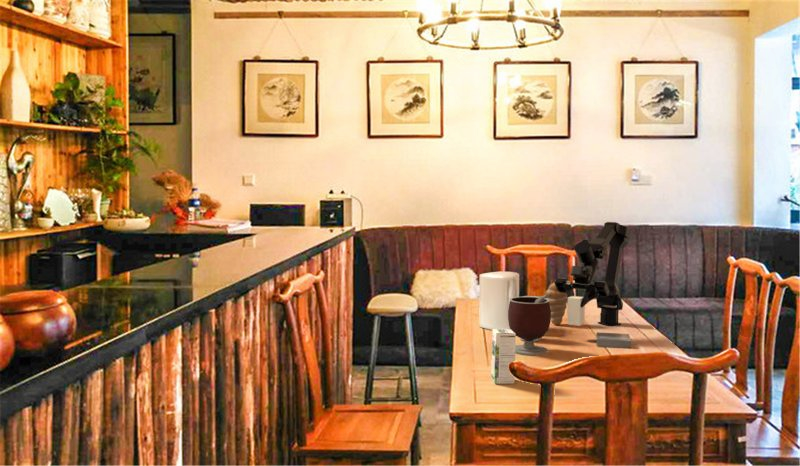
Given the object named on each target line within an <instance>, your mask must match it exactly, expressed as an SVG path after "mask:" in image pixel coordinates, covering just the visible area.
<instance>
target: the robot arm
mask: <svg viewBox="0 0 800 466" xmlns="http://www.w3.org/2000/svg"><path fill="white" fill-rule="evenodd" d="M630 238H631V229H630V228H629V227H628V226H625V225H623V224H620V223H618V222H616V221H614V222H613V221H607V222H604V224H603V227H602V229H600V231H599V233H598V234H597V235H596V237H595V238H594V239H592V240H591V239H590V240H589V239H582V240H581V241H580V242H578V243H576V245H574V248H573V250H574V253H575V254H576V257H577V259H578V261H579V262H580V263H581V264H580V265H571V269H570V273H569V274H570V276H572V281H571V280H568V278H567V277H556V279H554V281H555V282H554V283H555V285H556V288H557V290H558V291H559V292H562V293H566V294H567V304H566V305H567V306H568V297H571V296H576V294H575V292H574V290H580V291H585V293H584V294H583V296H582V297H583V299H582V302H581V305H580V306H581V307H583V306H585V307H586V306H587V304H589V302H591V301H593V300H594V299H595V300H596V307H597V309H600V316H599V320H600V321H597V324H600V325H604V326H607V327H611V326H612V327H613V326H618V325H622V322H619V314H620V312H619V311H622V310H623V308H624V302H623V301H622V297H621V292H620V289H619V287H618V280H619V274H620V273H619V272H620V269H621V268H620V266H621V260H622V255H623V250H624V249H625V247H626V246H627V245H628V244H629V239H630ZM608 245H609V246H610V247H609V253H608V250H607V246H608ZM607 253H608V258H607V263H606V264H607V265H606V270H605V271H606V272H605V276H604V281H602V280H600V281H599V280H596V278H595V276H596V273H597V270H600V265H599V264H600V263H599V261H598V260H603V259H605V257H606V255H607ZM573 281H574V282H573ZM593 282H594V283H593ZM592 283H593V284H592Z"/></svg>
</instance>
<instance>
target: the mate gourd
mask: <svg viewBox="0 0 800 466" xmlns="http://www.w3.org/2000/svg"><path fill="white" fill-rule="evenodd" d="M547 297H548V295H545V294H544V295H542V296H537V297H522V296H519V297H514V298H511V299H510V303H509V309H508V321H509V327H510V329H511V330H512V331H513V332H514V333H516V337H518V339H520V338H522V339H524V340H525V341H523V342H524V343H523V344H518V345H517V344H516V346H515V355H521V356H531V357H532V356H533V355H534V356H541V355H542V354H543V355H546V354H547V353H548V352H549V351H548V348H546V347H544V346H541V345H535V344H534V342H533V340H535V339H538V338H540V337H542V338H543V337H544V336H546V334H547V332H548V331H549V329H550V326H551V310H550V304H549V300H548V299H547Z"/></svg>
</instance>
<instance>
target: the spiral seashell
mask: <svg viewBox="0 0 800 466" xmlns="http://www.w3.org/2000/svg"><path fill="white" fill-rule="evenodd" d="M554 282H555V279H550V284H549V286H548V287H547V290H546V291H545V293H544V295H548V297H546V299H548V300H549V304H550V310H551V321H550V323H551V324H552V325H556V326H559V325H561V324H562V322H563V318H564V316H565V313H566V310H567V308H568V305H567V294H566V293H562V292H559V291H558V290H557V288H556V285H555V283H554Z"/></svg>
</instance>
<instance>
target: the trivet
mask: <svg viewBox="0 0 800 466" xmlns="http://www.w3.org/2000/svg"><path fill="white" fill-rule="evenodd" d="M595 339H596V347H602V348H603V347H604V348H619V349H621V348H622V349H632V347H631V346H632V344H631V343H632V340H631V336H630V333H617V332H616V333H615V332H613V333H612V332H599V331H598V332H596V338H595Z"/></svg>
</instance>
